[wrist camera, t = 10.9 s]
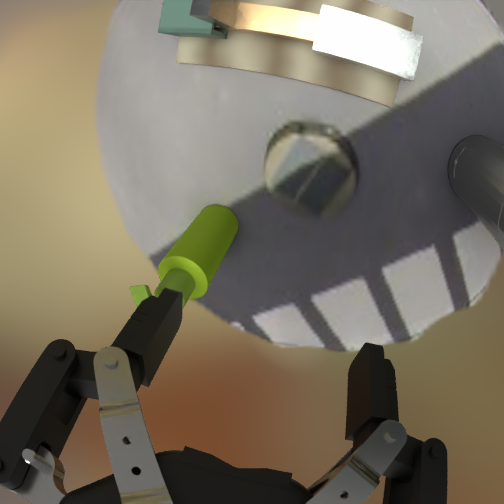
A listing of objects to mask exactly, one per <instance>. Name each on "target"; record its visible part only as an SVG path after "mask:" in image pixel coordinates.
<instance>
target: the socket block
mask: <svg viewBox="0 0 504 504" xmlns="http://www.w3.org/2000/svg"><path fill="white" fill-rule="evenodd" d="M191 5H192V0H164V1H163V6H162V12H161V17H160V23H159V29H158V33H163V34H169V35H175V36H183V37H204V38H218V39H227V36H228V30H217V29H214V25H213V24H211V23H208V22H206V21H203V20H201V19H198V18H195V17H193V16H190V10H191Z"/></svg>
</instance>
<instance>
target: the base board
mask: <svg viewBox="0 0 504 504" xmlns="http://www.w3.org/2000/svg"><path fill="white" fill-rule="evenodd" d="M236 1H238V2H239V3H248V4H258V5H266V6H274V7H281V8H287V9H293V10H298V11H304V12H309V13H313V14H318V15H320V11H321V7H322V4H323V5H327V6H331V7H336V8H340V9H343V10H347V11H351V12H354V13H358V14H361V15H365V16H368V17H371V18H374V19H377V20H380V21H383V22H386V23H389V24H391V25H394V26H397V27H400V28H402V29H405V30H407V31H410V32H411V28H412V23H413V18H414V17H412V16H410V15H407V14H405V13H402V12H399V11H397V10H394V9H391V8H388V7H385V6H382V5H380V4H376V3H373V2H370V1H367V0H236ZM176 62H178V63H192V64H203V65H213V66H222V67H230V68H237V69H244V70H250V71H256V72H262V73H268V74H273V75H278V76H283V77H288V78H293V79H297V80H302V81H306V82H310V83H314V84H318V85H322V86H326V87H330V88H333V89H337V90H340V91H344V92H347V93H350V94H354V95H357V96H360V97H363V98H366V99H369V100H372V101H375V102H378V103H381V104H384V105H387V106H390V107H392V108H393V104H394V101H395V97H396V93H397V89H398V86H399V82H400V80H398V79H395V78H393V77H390V76H387V75H384V74H382V73H379V72H376V71H373V70H370V69H367V68H364V67H360V66H357V65H354V64H351V63H347V62H344V61H340V60H336V59H333V58H329V57H325V56H321V55H317V54H314V53H313V44H311V43H307V42H302V41H297V40H292V39H287V38H281V37H275V36H269V35H262V34H255V33H248V32H239V31H229V30H228V36H227V39H218V38H204V37H183V36H180V38H179V44H178V50H177V57H176Z"/></svg>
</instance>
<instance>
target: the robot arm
mask: <svg viewBox="0 0 504 504" xmlns="http://www.w3.org/2000/svg"><path fill="white" fill-rule="evenodd" d="M448 174H449V180H450V183H451V186H452V188H453V190H454V191H455V192H456V194H457V195H458V196H459V197H460V198H461V199H462V200H463V201H464V203H465V204H466V205H467V206H468V207H469V208H470V210H471V211H472V212H473V213H474V214H475V215H476V217H477V218H478V219H479V220H480V221H481V222H482V224H483V225H484V226H485V227H486V229H487V230H488V231H489V232H490V234H491V235H492V236H493V237H494V239H495V240H496V241H497V243H498V244H499V245H500V247H501V248H502V249H503V250H504V146H502V145H500V144H498V143H496V142H494V141H492V140H491V139H489V138H487V137H484V136H478V135H474V136H470V137H467V138H465V139H464V140H462V141H461V142H460V143H459V144H458V145H457V146H456V147H455V149H454V150H453V152H452V155H451V157H450V161H449V167H448ZM182 304H183V294H182V292H179V291H176V290H173V289H170V288H167V287H166V288H164V289H163V291H162V292H161V294H160V295H159V297H155V296H152V295H151V296H149V297H148V298H146V299H144V300H143V301H141V303H140V304H139V306H138V307H137V309H136V310H135V312H134V313H133V314H132V316H131V318H130V319H129V320H128V322H127V323H126V325H125V326H124V327H123V329H122V330H121V332H120V333H119V335H118V336H117V338H116V339H115V341H114V342H113V344H112V345H111V346H110V347H105V348H102V349H101V350H99V351H98V352H89V351H83V350H76V349H75V347H74V345H73V344H72V343H71V342H69V341H68V340H64V339H58V340H55V341H53V342H51V343H50V344H49V345H48V346H47V347H46V349H45V350H44V352H43V353H42V355H41V356H40V358H39V359H38V361H37V362H36V364H35V365H34V367H33V368H32V370H31V371H30V373H29V374H28V376H27V378H26V379H25V381H24V382H23V384H22V386H21V387H20V389H19V391H18V392H17V394H16V396H15V397H14V399H13V401H12V402H11V404H10V406H9V408H8V409H7V411H6V413H5V415H4V417H3V418H2V420H1V422H0V485H1V486H3V487H4V488H5V489H7V490H10V491H12V492H14V493H16V494H19V495H21V496H22V497H23V498H25V499H26V500H28V501H29V502H31V503H32V504H362V503H363V502H364V501H365V500H366V499H367V498H368V497H369V496H370V494H371V493H372V492H373V491H374V490H375V489H376V487H377V486H378V484H379V482H380V481H379V478H380V476H381V475H383V476H386V479H385V489H384V497H383V504H447V449H446V447H445V445H444V443H443V442H442V441H441V440H439V439H437V438H430V439H428V440H427V441H425V442H423V441H420V440H418V439H416V438H413V437H411V436H409V435H408V434H407V432H406V429H405V428H404V427H403V425H402V424H401V423H400V422H399V417H398V401H397V391H396V382H395V380H396V377H395V369H394V367H393V365H392V363H391V361H390V360H389V359H384V349H383V346H381V345H376V344H371V343H365V344H364V345H363V347H362V348H361V350H360V351H359V353H358V354H357V356H356V357H355V359H354V360H353V362H352V363H351V365H350V368H349V372H348V395H347V416H346V434H345V440H352V441H353V447H352V448H351V449H350V450H349V451H348V452H347V453H346V454H345V455H344V456H343V457H342V458H341V459H340V460H339V461H338V462H337V463H336V464H335V465H334V466H333V467H332V468H331V469H330V470H329V471H327V473H325V474H324V475H323V476H322V477H321V478H319V479H318V480H317V481H316V482H314V483H313V484H312V485H311V486H309V487H308V488H307V489H306V488H305V487H304V486H303V485H301V484H300V483H298V482H297V481H295V480H293V479H291V477H292V473H288V472H283V471H277V470H272V469H267V468H258V469H257V468H254V469H253V468H252V469H251V468H249V469H248V468H236V467H233V466H232V465H229V464H228V463H226V462H224V461H222V460H220V459H219V458H217V457H215V456H213V455H211V454H208V453H205V452H201V451H198V450H195V449H193V448H189V447H187V446H185V448H184V450H183V451H179V450H173V451H164V452H159V453H156V454H155V451H154V448H153V445H152V442H151V439H150V436H149V433H148V430H147V427H146V423H145V420H144V417H143V413H142V409H141V406H140V403H139V398H138V395H137V391H138V389H139V388H140V385H141V384H142V385H145V386H147V387H149V385H150V383H151V381H152V379H153V377H154V375H155V374H156V371H157V370H158V368H159V366H160V364H161V362H162V360H163V358H164V356H165V354H166V352H167V350H168V348H169V347H170V345H171V343H172V341H173V339H174V337H175V335H176V333H177V331H178V329H179V327H180V324H181V321H182ZM87 398H92V399H98V400H99V402H100V409H99V414H100V420H101V425H102V430H103V434H104V438H105V443H106V447H107V450H108V455H109V459H110V462H111V466H112V469H113V473H114V474H112V475H109V476H107V477H105V478H103V479H100V480H98V481H96V482H93V483H91V484H88V485H86V486H84V487H82V488H78V489H76V490H74V491H71V492H69V493H68V494H67V492H66V491H65V489H64V484H63V479H64V475H65V470H64V466H63V464H62V462H61V461H60V460H59V459H58V458H59V456H60V454H61V452H62V450H63V447H64V445H65V443H66V441H67V439H68V437H69V435H70V433H71V431H72V429H73V426H74V424H75V422H76V420H77V418H78V416H79V414H80V412H81V410H82V408H83V406H84V404H85V402H86V400H87Z"/></svg>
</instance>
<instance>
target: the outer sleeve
mask: <svg viewBox="0 0 504 504" xmlns="http://www.w3.org/2000/svg"><path fill="white" fill-rule="evenodd" d="M422 41H423V37H422V36H419V35H417V34H415V33H412V32H410V31H407V30H405V29H402V28H400V27H397V26H394V25H391V24H389V23H386V22H383V21H380V20H377V19H374V18H371V17H368V16H365V15H361V14H358V13H354V12H351V11H347V10H343V9H340V8H336V7H331V6H327V5H323V4H322V7H321V11H320V16H319V21H318V26H317V30H316V35H315V40H314V44H313V53H314V54H317V55H321V56H325V57H329V58H333V59H336V60H340V61H344V62H347V63H351V64H354V65H357V66H360V67H364V68H367V69H370V70H373V71H376V72H379V73H382V74H384V75H387V76H390V77H393V78H395V79H398V80H404V81H413V80H414V76H415V72H416V68H417V63H418V59H419V55H420V50H421V45H422Z"/></svg>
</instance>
